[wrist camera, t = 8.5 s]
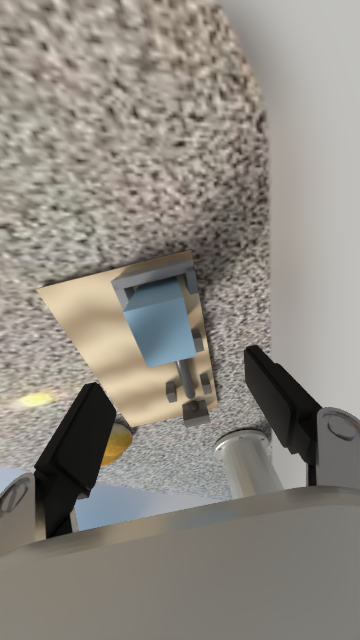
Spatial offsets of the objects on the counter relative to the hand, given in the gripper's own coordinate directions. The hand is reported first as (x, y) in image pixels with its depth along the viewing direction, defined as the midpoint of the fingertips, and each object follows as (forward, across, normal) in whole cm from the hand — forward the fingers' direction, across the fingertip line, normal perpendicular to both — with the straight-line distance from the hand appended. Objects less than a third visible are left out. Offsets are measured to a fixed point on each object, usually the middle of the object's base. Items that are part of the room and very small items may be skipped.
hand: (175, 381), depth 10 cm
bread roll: (+11, +18, +21) cm, 30 cm away
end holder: (+9, 0, -5) cm, 10 cm away
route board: (+10, +4, +6) cm, 13 cm away
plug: (+9, 0, +4) cm, 10 cm away
